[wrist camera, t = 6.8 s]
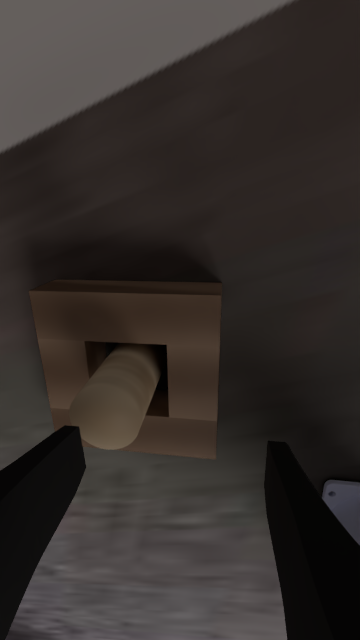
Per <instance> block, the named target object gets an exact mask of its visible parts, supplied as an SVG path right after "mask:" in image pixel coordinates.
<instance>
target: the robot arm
mask: <svg viewBox="0 0 360 640" xmlns="http://www.w3.org/2000/svg"><path fill="white" fill-rule="evenodd" d="M85 469H86V464H85V458H84V452H83V446H82V440H81V434H80V428H79V426H68V425H64V426H63V427H61V428H60V429H58V430H57V431H56V432H54V433H53V434H51V435H50V436H49V437H47V438H46V439H45V440H43V441H42V442H41V443H39V444H38V445H36V446H35V447H34V448H32V449H31V450H30V451H28V452H27V453H25V454H24V455H23V456H21V457H20V458H18V459H17V460H16V461H14V462H13V463H11V464H10V465H8V466H7V467H5V468H4V469H2V470H1V471H0V640H5V639H6V636H7V634H8V631H9V629H10V627H11V624H12V622H13V619H14V617H15V615H16V612H17V610H18V607H19V605H20V603H21V600H22V598H23V596H24V594H25V591H26V589H27V587H28V584H29V582H30V580H31V578H32V575H33V573H34V571H35V569H36V567H37V565H38V563H39V561H40V559H41V557H42V555H43V553H44V551H45V549H46V547H47V546H48V544H49V542H50V540H51V538H52V536H53V535H54V533H55V531H56V529H57V527H58V525H59V524H60V522H61V520H62V518H63V516H64V514H65V513H66V511H67V509H68V507H69V505H70V503H71V501H72V499H73V498H74V496H75V494H76V491H77V489H78V486H79V484H80V482H81V479H82V476H83V474H84V471H85ZM264 488H265V500H266V511H267V518H268V524H269V529H270V534H271V540H272V545H273V550H274V555H275V561H276V566H277V571H278V576H279V582H280V587H281V593H282V599H283V605H284V613H285V622H286V631H287V640H360V483H359V482H349V481H339V480H328V481H326V482H325V484H324V489H323V494H322V497H321V496H320V495H319V493H318V492H317V490H316V489H315V487H314V486H313V485H312V483H311V482H310V480H309V479H308V477H307V476H306V474H305V472H304V471H303V469H302V468H301V466H300V465H299V463H298V461H297V460H296V458H295V456H294V455H293V453H292V451H291V449H290V447H289V446H288V444H287V443H286V442H275V441H268V445H267V457H266V469H265V481H264ZM332 491H333V492H332Z"/></svg>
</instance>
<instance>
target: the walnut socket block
mask: <svg viewBox="0 0 360 640" xmlns="http://www.w3.org/2000/svg"><path fill="white" fill-rule="evenodd" d="M29 295H30V300H31V306H32V311H33V316H34V322H35V327H36V333H37V338H38V343H39V349H40V354H41V359H42V365H43V370H44V375H45V381H46V386H47V391H48V397H49V402H50V408H51V413H52V418H53V424H54V429H55V432H56V431H57V430H58V429H60V428H61V427H63V426H64V425H68V426H72V424H71V421H70V417H69V409H70V405H71V403H72V401H73V400H74V398H75V397H76V396H77V394H78V393H79V392H80V391H81V389H82V388H83V387H84V386H85V384H86V383H87V382H88V381H89V379H90V378H91V377H92V375H93V374H94V373H95V372H96V370H97V369H98V368H99V367H100V365H101V364H102V363H103V362H104V360H105V359H106V358H107V356H106V346H105V342H117V343H138V344H160V345H167V367H168V390H155V392H154V394H153V397H152V399H151V402H150V404H149V407H148V409H147V412H146V415H145V417H144V420H143V422H142V425H141V427H140V430H139V433H138V435H137V437H136V438H135V440H134V441H133V442H132V443H131V444H129V445H128V446H126V447H123V448H120V449H113V450H123V451H134V452H144V453H154V454H164V455H175V456H185V457H195V458H206V459H216V445H217V420H218V390H219V360H220V329H221V299H222V283H215V282H161V281H107V280H53V281H51V282H49V283H46V284H44V285H42V286H39V287H37V288H34V289H32V290H30V291H29ZM81 440H82V446H83V447H92V448H98V447H96V446H93V445H91V444H89V443H88V442H86V441H85V440H83V439H82V438H81Z"/></svg>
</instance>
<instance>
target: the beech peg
mask: <svg viewBox="0 0 360 640" xmlns="http://www.w3.org/2000/svg"><path fill="white" fill-rule="evenodd" d="M165 363H166V354H165V350H164V348H163V346H162V345H160V344H138V343H118V344H117V345H116V347H115V348H114V349H113V350H112V352H111V353H110V354H109V355H108V357H107V358H106V359H105V360H104V362H103V363H102V364H101V365H100V367H99V368H98V369H97V370H96V372H95V373H94V374H93V375H92V377H91V378H90V379H89V381H88V382H87V383H86V384H85V386H84V387H83V388H82V389H81V391H80V392H79V393H78V394H77V396H76V397H75V398H74V400H73V401H72V403H71V405H70V409H69V417H70V421H71V424H72V426H79V428H80V434H81V438H82V439H83V440H85V441H86V442H88V443H89V444H91V445H93V446H96V447H98V448H102V449H109V450H113V449H120V448H123V447H126V446H128V445H129V444H131V443H132V442H133V441H134V440H135V438H136V437H137V435H138V433H139V430H140V427H141V425H142V422H143V420H144V417H145V415H146V412H147V409H148V407H149V404H150V402H151V399H152V397H153V394H154V392H155V389H156V386H157V384H158V381H159V379H160V376H161V374H162V371H163V368H164V366H165Z"/></svg>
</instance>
